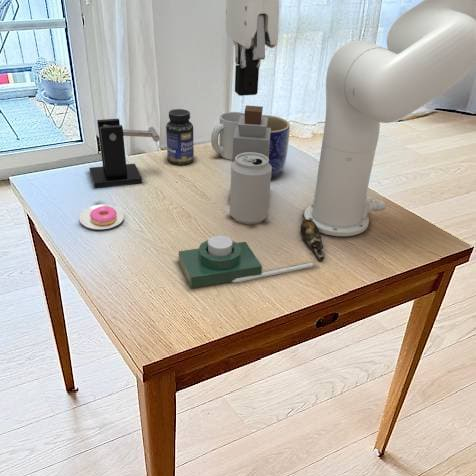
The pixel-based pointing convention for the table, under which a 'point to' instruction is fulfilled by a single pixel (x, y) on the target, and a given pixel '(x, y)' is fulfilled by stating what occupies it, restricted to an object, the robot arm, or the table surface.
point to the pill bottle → (179, 137)
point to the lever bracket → (113, 158)
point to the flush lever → (140, 133)
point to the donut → (101, 216)
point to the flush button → (220, 246)
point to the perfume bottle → (252, 133)
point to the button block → (218, 265)
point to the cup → (225, 134)
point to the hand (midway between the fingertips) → (246, 93)
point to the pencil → (274, 272)
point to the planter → (278, 142)
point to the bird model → (312, 237)
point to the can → (250, 187)
